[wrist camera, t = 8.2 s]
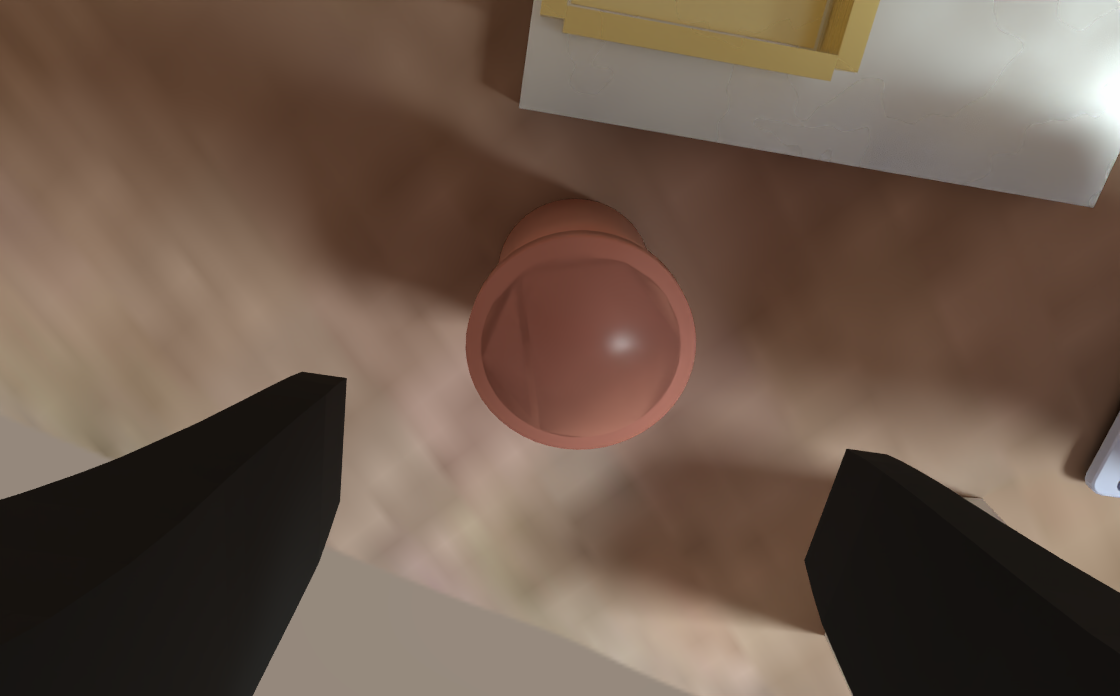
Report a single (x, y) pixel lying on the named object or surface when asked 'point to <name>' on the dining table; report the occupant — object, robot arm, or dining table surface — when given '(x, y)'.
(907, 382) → the dining table surface
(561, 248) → the cap
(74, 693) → the robot arm
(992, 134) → the panel
